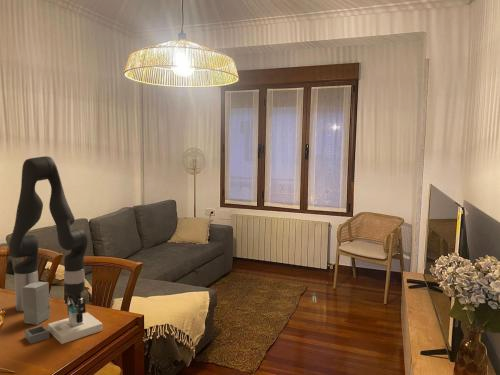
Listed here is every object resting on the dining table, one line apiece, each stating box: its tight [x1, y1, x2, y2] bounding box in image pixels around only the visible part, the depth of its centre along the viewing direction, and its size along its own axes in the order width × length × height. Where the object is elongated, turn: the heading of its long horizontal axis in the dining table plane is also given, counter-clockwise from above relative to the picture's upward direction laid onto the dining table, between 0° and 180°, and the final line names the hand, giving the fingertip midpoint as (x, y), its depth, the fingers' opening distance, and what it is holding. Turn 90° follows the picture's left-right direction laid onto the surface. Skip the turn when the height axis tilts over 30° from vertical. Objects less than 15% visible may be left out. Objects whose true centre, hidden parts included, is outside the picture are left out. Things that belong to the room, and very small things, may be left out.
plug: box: [67, 305, 82, 328], centre depth 158 cm, size 4×4×10 cm
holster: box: [24, 324, 50, 345], centre depth 152 cm, size 7×7×3 cm
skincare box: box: [22, 281, 51, 326], centre depth 165 cm, size 8×7×16 cm
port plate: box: [47, 311, 103, 345], centre depth 158 cm, size 14×16×3 cm
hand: (75, 318), depth 158 cm, fingers open, 8 cm apart
